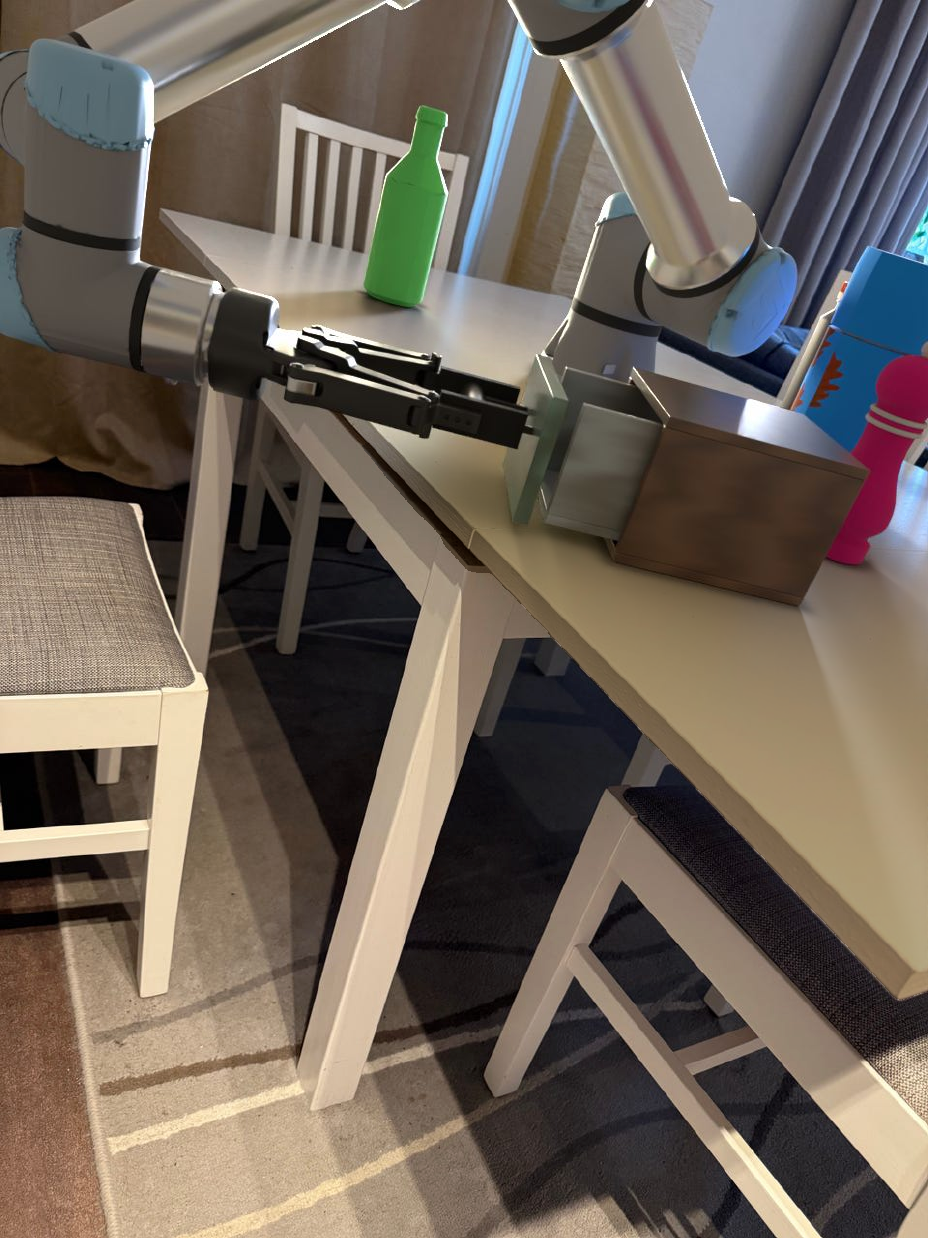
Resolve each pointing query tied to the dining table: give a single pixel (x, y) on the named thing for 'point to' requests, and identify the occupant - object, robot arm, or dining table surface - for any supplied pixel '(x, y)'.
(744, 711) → the dining table surface
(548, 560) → the dining table surface
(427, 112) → the bottle
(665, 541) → the drawer box
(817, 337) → the vinegar
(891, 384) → the pepper mill
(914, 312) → the blue carton
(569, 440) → the drawer
